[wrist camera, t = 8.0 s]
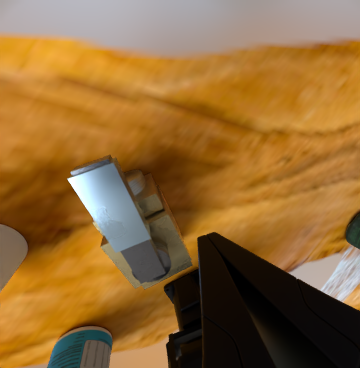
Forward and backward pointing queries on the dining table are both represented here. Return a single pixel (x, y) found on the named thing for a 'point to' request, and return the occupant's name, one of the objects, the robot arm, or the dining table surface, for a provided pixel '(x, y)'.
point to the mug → (10, 253)
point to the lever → (120, 217)
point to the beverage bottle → (82, 349)
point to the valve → (152, 228)
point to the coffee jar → (354, 232)
